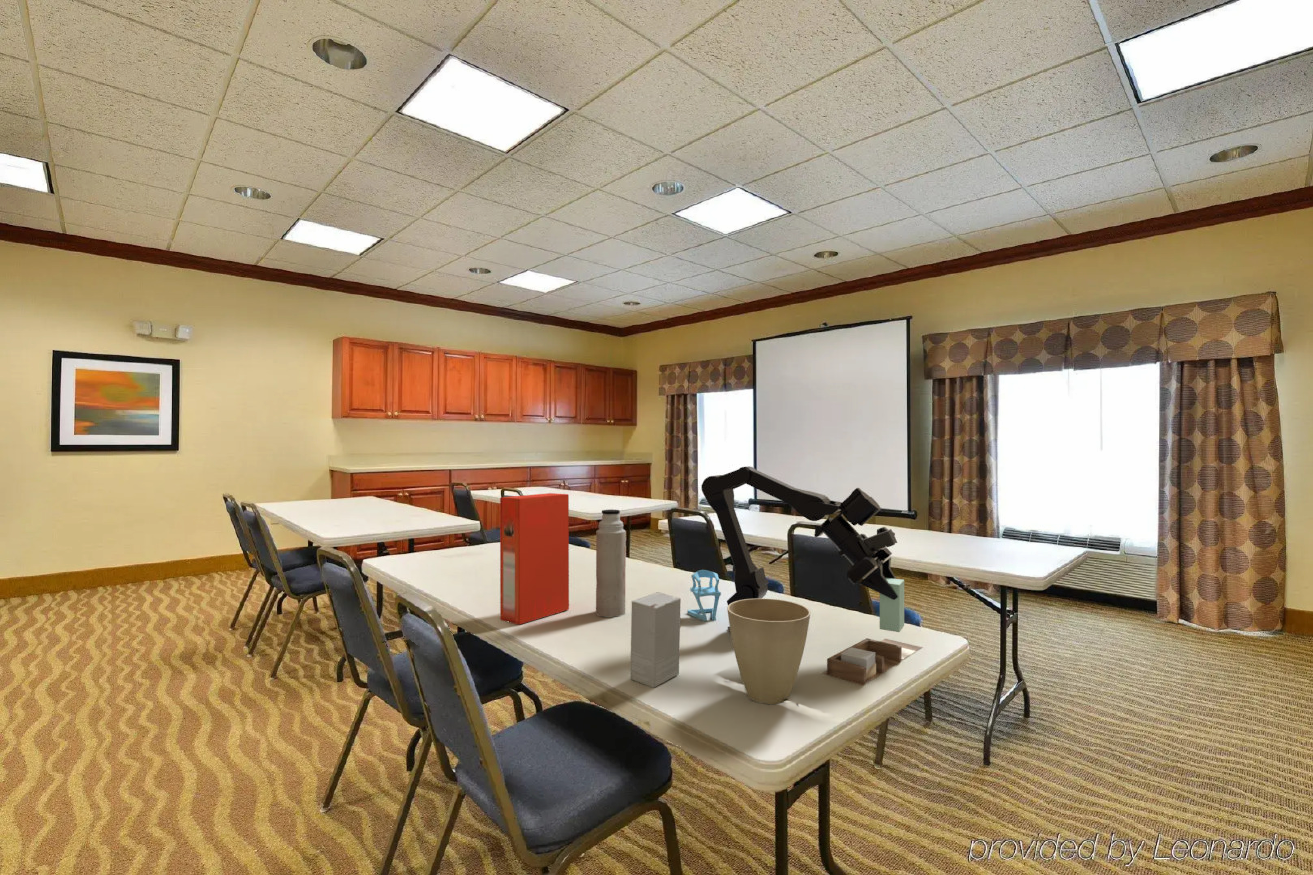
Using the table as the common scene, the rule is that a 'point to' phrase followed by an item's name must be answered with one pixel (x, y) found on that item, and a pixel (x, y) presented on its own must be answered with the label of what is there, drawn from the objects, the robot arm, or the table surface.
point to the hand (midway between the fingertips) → (898, 595)
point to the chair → (704, 594)
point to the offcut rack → (885, 658)
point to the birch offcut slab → (871, 671)
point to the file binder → (534, 556)
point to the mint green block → (892, 607)
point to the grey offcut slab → (858, 657)
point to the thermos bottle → (610, 565)
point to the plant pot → (768, 645)
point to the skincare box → (655, 638)
